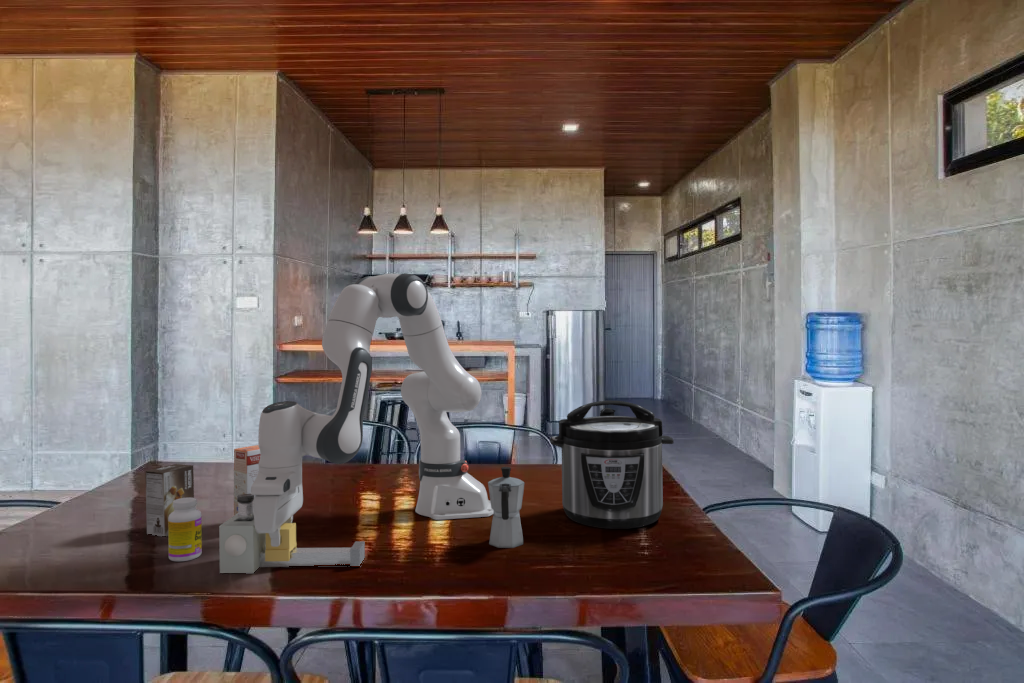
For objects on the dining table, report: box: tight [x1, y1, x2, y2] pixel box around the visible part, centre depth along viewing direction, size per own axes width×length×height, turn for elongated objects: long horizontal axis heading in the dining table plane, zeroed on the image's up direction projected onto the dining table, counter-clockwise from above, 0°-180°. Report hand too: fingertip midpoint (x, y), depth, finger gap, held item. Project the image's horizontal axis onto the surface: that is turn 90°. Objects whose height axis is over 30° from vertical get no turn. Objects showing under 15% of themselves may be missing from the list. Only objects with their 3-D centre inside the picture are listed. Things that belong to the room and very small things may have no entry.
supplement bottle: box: [167, 497, 203, 562], centre depth 140 cm, size 7×7×13 cm
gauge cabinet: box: [218, 512, 266, 574], centre depth 135 cm, size 7×11×10 cm, turn 1°
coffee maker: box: [487, 466, 525, 549], centre depth 148 cm, size 15×9×18 cm, turn 178°
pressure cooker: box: [549, 400, 674, 530], centre depth 169 cm, size 30×28×32 cm
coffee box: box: [145, 463, 195, 537], centre depth 158 cm, size 9×6×16 cm
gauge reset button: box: [237, 494, 254, 521], centre depth 135 cm, size 3×3×7 cm
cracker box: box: [233, 444, 261, 516], centre depth 163 cm, size 14×6×21 cm, turn 148°
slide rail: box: [260, 540, 366, 568], centre depth 136 cm, size 22×5×4 cm, turn 91°
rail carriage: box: [265, 522, 298, 561], centre depth 135 cm, size 5×5×7 cm
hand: (281, 540), depth 135 cm, fingers closed on rail carriage, 4 cm apart
